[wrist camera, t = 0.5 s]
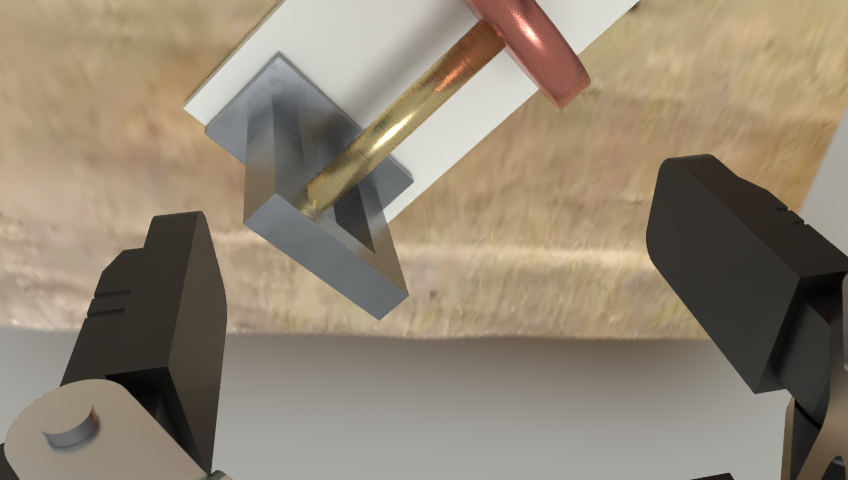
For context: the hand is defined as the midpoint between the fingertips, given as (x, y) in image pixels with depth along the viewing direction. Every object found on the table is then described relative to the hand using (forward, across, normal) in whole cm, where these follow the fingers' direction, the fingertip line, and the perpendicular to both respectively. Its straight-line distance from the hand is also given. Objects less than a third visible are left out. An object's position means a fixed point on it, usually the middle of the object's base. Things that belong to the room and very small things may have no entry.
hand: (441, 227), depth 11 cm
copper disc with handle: (+26, -1, +8) cm, 27 cm away
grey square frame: (+27, +3, +11) cm, 30 cm away
